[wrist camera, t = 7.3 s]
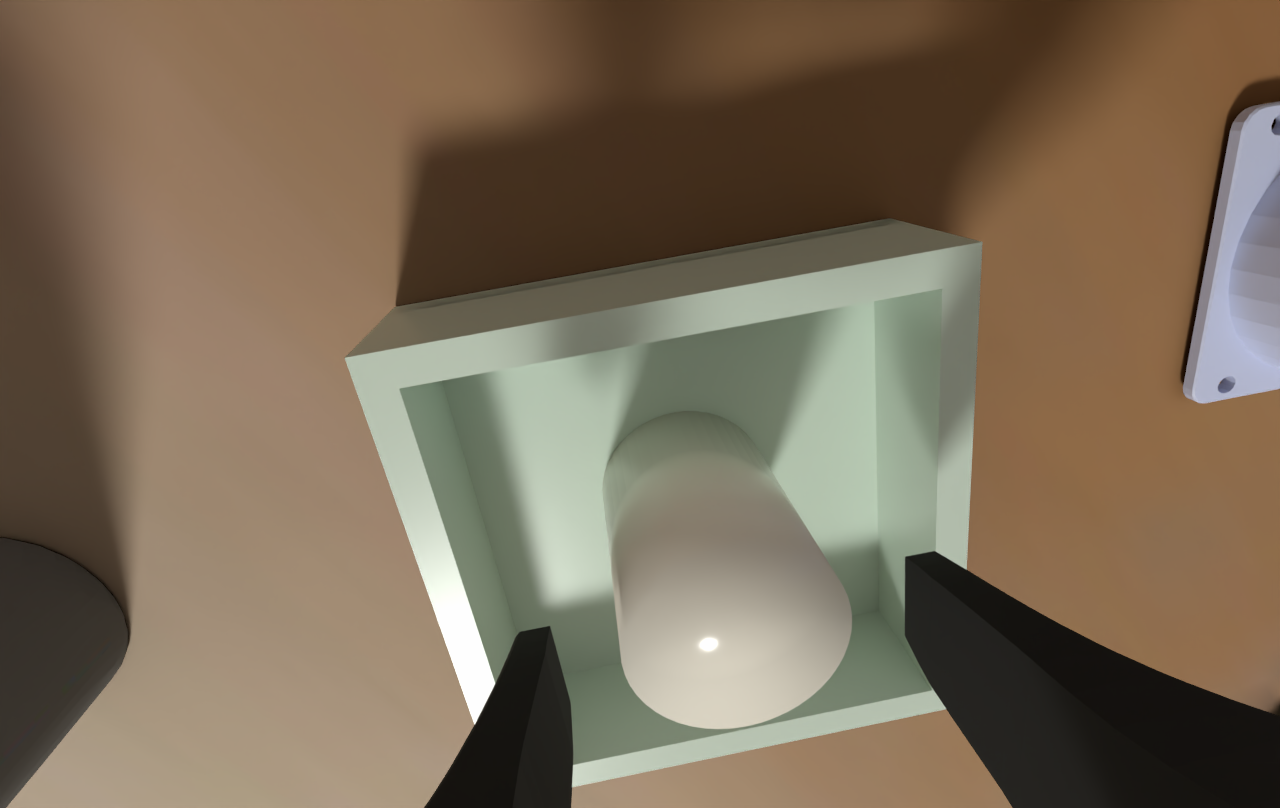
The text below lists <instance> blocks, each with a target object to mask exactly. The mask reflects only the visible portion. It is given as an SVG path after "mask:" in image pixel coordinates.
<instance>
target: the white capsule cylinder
mask: <svg viewBox="0 0 1280 808" xmlns="http://www.w3.org/2000/svg"><path fill="white" fill-rule="evenodd" d="M602 493H603V502H604V511H605V520H606V529H607V538H608V547H609V556H610V565H611V574H612V583H613V592H614V601H615V610H616V619H617V628H618V637H619V645H620V654H621V663H622V667H623V670H624V674H625V676H626V679H627V681H628V683H629V685H630V687H631V688H632V689H633V691H634V692H635V694H636V695H637V696H638V697H639V698H640V699H641V700H642V701H643V702H644V703H645V704H646V705H647V706H648V707H650V708H651V709H652V710H654V711H655V712H657V713H658V714H660V715H662V716H664V717H665V718H668V719H670V720H672V721H675V722H677V723H681V724H684V725H688V726H692V727H699V728H706V729H731V728H739V727H746V726H750V725H754V724H758V723H762V722H765V721H767V720H770V719H773V718H776V717H778V716H780V715H782V714H784V713H787V712H788V711H790V710H792V709H794V708H795V707H797V706H799V705H800V704H802V703H803V702H804V701H806V700H807V699H809V698H810V697H811V696H812V695H814V694H815V693H816V692H817V691H818V690H819V689H820V688H821V687H822V686H823V685H824V684H825V683H826V682H827V681H828V680H829V679H830V678H831V676H832V675H833V673H834V672H835V670H836V669H837V668H838V666H839V664H840V662H841V661H842V659H843V657H844V655H845V652H846V650H847V647H848V644H849V640H850V636H851V630H852V613H851V606H850V602H849V598H848V595H847V593H846V591H845V589H844V587H843V585H842V583H841V582H840V580H839V578H838V577H837V575H836V574H835V572H834V570H833V569H832V567H831V566H830V564H829V562H828V561H827V559H826V558H825V556H824V554H823V553H822V551H821V550H820V548H819V546H818V545H817V543H816V542H815V540H814V538H813V537H812V535H811V534H810V532H809V530H808V529H807V527H806V526H805V524H804V522H803V521H802V519H801V518H800V516H799V514H798V513H797V511H796V510H795V508H794V506H793V505H792V503H791V501H790V500H789V498H788V497H787V495H786V493H785V492H784V490H783V489H782V487H781V485H780V484H779V482H778V481H777V479H776V477H775V476H774V474H773V473H772V471H771V469H770V468H769V466H768V465H767V463H766V461H765V460H764V458H763V457H762V455H761V453H760V452H759V450H758V449H757V447H756V445H755V444H754V442H753V441H752V440H751V438H750V437H749V436H748V435H747V434H746V433H745V432H744V431H743V430H742V429H741V428H740V427H738V426H737V425H736V424H734V423H732V422H731V421H729V420H727V419H725V418H722V417H720V416H718V415H714V414H710V413H706V412H698V411H683V412H674V413H670V414H666V415H662V416H659V417H657V418H654V419H652V420H650V421H648V422H646V423H644V424H642V425H641V426H639V427H638V428H636V429H635V430H633V431H632V432H631V433H630V434H629V435H627V436H626V437H625V438H624V439H623V441H622V442H621V443H620V444H619V445H618V446H617V448H616V449H615V451H614V452H613V454H612V456H611V458H610V460H609V461H608V464H607V467H606V470H605V473H604V478H603V487H602Z"/></svg>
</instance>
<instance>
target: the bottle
mask: <svg viewBox="0 0 1280 808" xmlns="http://www.w3.org/2000/svg"><path fill="white" fill-rule="evenodd" d="M127 647H128V630H127V626H126V623H125V619H124V615H123V612H122V611H121V609H120V607H119V605H118V603H117V602H116V600H115V598H114V597H113V596H112V595H111V593H110V592H109V591H108V590H107V589H106V587H105V586H104V585H103V584H102V583H101V582H100V581H99V580H97V579H96V578H95V577H94V576H93V575H91V574H90V573H89V572H88V571H86V570H85V569H84V568H83V567H81V566H79V565H78V564H76V563H74V562H73V561H71V560H70V559H68V558H66V557H64V556H62V555H59V554H57V553H55V552H52V551H50V550H48V549H45V548H43V547H40V546H38V545H34V544H29V543H25V542H20V541H16V540H11V539H7V538H0V808H6V807H7V806H8V805H9V803H10V802H11V801H12V800H13V799H14V797H15V796H16V795H17V794H18V793H19V791H20V790H21V789H22V788H23V787H24V785H25V784H26V783H27V782H28V781H29V779H30V778H31V777H32V776H33V775H34V773H35V772H36V771H37V770H38V769H39V767H40V766H41V765H42V764H43V763H44V761H45V760H46V759H47V758H48V756H49V755H50V754H51V753H52V752H53V750H54V749H55V748H56V747H57V745H58V744H59V743H60V742H61V740H62V739H63V738H64V737H65V736H66V734H67V733H68V732H69V731H70V729H71V728H72V727H73V726H74V725H75V723H76V722H77V721H78V720H79V718H80V717H81V716H82V715H83V714H84V712H85V711H86V710H87V709H88V707H89V706H90V705H91V704H92V702H93V701H94V700H95V699H96V698H97V696H98V695H99V694H100V693H101V691H102V690H103V689H104V688H105V687H106V685H107V684H108V683H109V682H110V680H111V679H112V678H113V676H114V675H115V673H116V672H117V670H118V669H119V667H120V666H121V664H122V662H123V659H124V656H125V653H126V650H127Z"/></svg>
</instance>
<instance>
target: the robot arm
mask: <svg viewBox="0 0 1280 808" xmlns="http://www.w3.org/2000/svg"><path fill="white" fill-rule="evenodd" d="M1275 118H1276V123H1275V126H1274V128H1273V129H1272V127H1271V126H1272V123H1273V121H1274V119H1275ZM1221 380H1222V381H1221ZM1220 381H1221V383H1220ZM1219 383H1220V384H1219ZM1276 389H1280V101H1278V102H1272V103H1266V104H1261V105H1255V106H1251V107H1249V108H1246V109H1245V110H1243V111H1242V112H1241V113H1240V114H1239V115H1238V116H1237V117H1236V119H1235V120H1234V122H1233V124H1232V126H1231V129H1230V134H1229V139H1228V145H1227V150H1226V155H1225V161H1224V166H1223V172H1222V177H1221V183H1220V188H1219V194H1218V199H1217V205H1216V210H1215V216H1214V221H1213V226H1212V232H1211V237H1210V243H1209V248H1208V254H1207V259H1206V265H1205V270H1204V276H1203V281H1202V286H1201V292H1200V297H1199V303H1198V308H1197V314H1196V319H1195V325H1194V330H1193V336H1192V341H1191V346H1190V352H1189V357H1188V363H1187V368H1186V374H1185V379H1184V385H1183V393H1184V395H1185V396H1186V397H1187V398H1189V399H1191V400H1193V401H1196V402H1198V403H1209V402H1214V401H1219V400H1224V399H1229V398H1235V397H1240V396H1245V395H1250V394H1255V393H1260V392H1266V391H1271V390H1276ZM905 637H906V639H907V641H908V643H909V645H910V647H911V649H912V651H913V653H914V655H915V657H916V659H917V661H918V663H919V665H920V667H921V669H922V671H923V673H924V674H925V676H926V678H927V680H928V682H929V684H930V685H931V687H932V688H933V690H934V691H935V693H936V694H937V696H938V697H939V699H940V700H941V702H942V703H943V705H944V706H945V708H946V709H947V711H948V712H949V714H950V715H951V717H952V718H953V720H954V721H955V722H956V724H957V725H958V727H959V728H960V730H961V731H962V733H963V734H964V736H965V737H966V739H967V740H968V741H969V743H970V744H971V746H972V747H973V749H974V750H975V752H976V753H977V755H978V756H979V758H980V759H981V760H982V762H983V763H984V765H985V766H986V768H987V769H988V771H989V772H990V774H991V775H992V777H993V778H994V779H995V781H996V782H997V784H998V785H999V787H1000V788H1001V790H1002V791H1003V793H1004V795H1005V796H1006V798H1007V799H1008V801H1009V803H1010V804H1011V806H1012V807H1013V808H1280V716H1278V715H1275V714H1272V713H1269V712H1266V711H1263V710H1260V709H1257V708H1254V707H1251V706H1248V705H1246V704H1243V703H1240V702H1237V701H1234V700H1231V699H1228V698H1226V697H1223V696H1221V695H1218V694H1215V693H1213V692H1210V691H1207V690H1205V689H1202V688H1199V687H1197V686H1194V685H1191V684H1189V683H1186V682H1184V681H1181V680H1179V679H1176V678H1174V677H1171V676H1169V675H1166V674H1164V673H1162V672H1159V671H1157V670H1155V669H1152V668H1150V667H1148V666H1146V665H1143V664H1141V663H1139V662H1137V661H1134V660H1132V659H1130V658H1128V657H1125V656H1123V655H1121V654H1119V653H1116V652H1114V651H1112V650H1110V649H1108V648H1106V647H1104V646H1102V645H1100V644H1098V643H1096V642H1094V641H1092V640H1090V639H1088V638H1086V637H1084V636H1082V635H1080V634H1078V633H1076V632H1074V631H1072V630H1070V629H1068V628H1066V627H1065V626H1063V625H1061V624H1059V623H1057V622H1055V621H1053V620H1051V619H1050V618H1048V617H1046V616H1044V615H1042V614H1041V613H1039V612H1037V611H1035V610H1033V609H1032V608H1030V607H1028V606H1026V605H1025V604H1023V603H1021V602H1019V601H1018V600H1016V599H1014V598H1013V597H1011V596H1009V595H1007V594H1006V593H1004V592H1002V591H1001V590H999V589H997V588H996V587H994V586H992V585H991V584H989V583H987V582H986V581H984V580H982V579H981V578H979V577H977V576H976V575H974V574H973V573H971V572H969V571H968V570H966V569H964V568H963V567H961V566H959V565H958V564H956V563H954V562H953V561H951V560H949V559H948V558H946V557H944V556H943V555H941V554H939V553H937V552H936V551H932V552H927V553H921V554H916V555H911V556H906V557H905ZM573 755H574V754H573V733H572V716H571V702H570V698H569V694H568V690H567V687H566V683H565V679H564V676H563V672H562V668H561V665H560V661H559V657H558V653H557V650H556V646H555V642H554V639H553V635H552V631H551V627H550V626H547V627H542V628H536V629H531V630H526V631H521V632H519V633H518V635H517V636H516V637H515V639H514V642H513V644H512V647H511V649H510V652H509V654H508V656H507V659H506V661H505V663H504V666H503V668H502V670H501V672H500V674H499V677H498V679H497V681H496V683H495V685H494V687H493V689H492V691H491V693H490V695H489V697H488V699H487V701H486V703H485V705H484V707H483V709H482V711H481V713H480V715H479V717H478V719H477V721H476V723H475V725H474V727H473V729H472V731H471V732H470V734H469V736H468V738H467V739H466V741H465V743H464V745H463V746H462V748H461V750H460V752H459V753H458V755H457V757H456V758H455V760H454V762H453V764H452V765H451V767H450V769H449V770H448V772H447V774H446V775H445V777H444V778H443V780H442V782H441V783H440V785H439V786H438V788H437V789H436V791H435V793H434V794H433V796H432V797H431V799H430V800H429V802H428V803H427V804H426V806H425V807H424V808H571V797H572V777H573Z"/></svg>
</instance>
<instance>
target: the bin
mask: <svg viewBox="0 0 1280 808" xmlns="http://www.w3.org/2000/svg"><path fill="white" fill-rule="evenodd" d="M981 260H982V242H981V241H977V240H973V239H969V238H965V237H961V236H957V235H953V234H950V233H946V232H942V231H938V230H934V229H930V228H926V227H922V226H918V225H914V224H910V223H907V222H903V221H899V220H895V219H891V218H888V219H883V220H877V221H872V222H866V223H860V224H855V225H849V226H844V227H838V228H833V229H827V230H821V231H816V232H810V233H805V234H799V235H794V236H788V237H782V238H777V239H771V240H766V241H760V242H755V243H749V244H743V245H738V246H732V247H727V248H721V249H715V250H710V251H704V252H699V253H693V254H688V255H682V256H676V257H671V258H665V259H660V260H654V261H649V262H643V263H637V264H632V265H626V266H621V267H615V268H610V269H604V270H598V271H593V272H587V273H582V274H576V275H570V276H565V277H559V278H554V279H548V280H543V281H537V282H531V283H526V284H520V285H515V286H509V287H504V288H498V289H492V290H487V291H481V292H476V293H470V294H465V295H459V296H453V297H448V298H442V299H437V300H431V301H425V302H420V303H414V304H409V305H403V306H398V307H394V308H393V309H392V310H391V311H390V312H389V313H388V314H387V315H386V316H385V317H384V318H383V319H382V320H381V321H380V323H379V324H378V325H377V326H376V327H375V328H374V329H373V330H372V331H371V332H370V333H369V334H368V335H367V336H366V337H365V338H364V339H363V340H362V341H361V342H360V343H359V344H358V345H357V346H356V347H355V348H354V349H353V350H352V351H351V352H350V353H349V354H348V355H347V356H346V357H345V360H346V363H347V366H348V369H349V371H350V374H351V377H352V380H353V383H354V385H355V388H356V391H357V394H358V397H359V400H360V402H361V405H362V408H363V411H364V414H365V417H366V419H367V422H368V425H369V428H370V431H371V433H372V436H373V439H374V442H375V445H376V448H377V450H378V453H379V456H380V459H381V462H382V465H383V467H384V470H385V473H386V476H387V479H388V481H389V484H390V487H391V490H392V493H393V496H394V498H395V501H396V504H397V507H398V510H399V513H400V515H401V518H402V521H403V524H404V527H405V529H406V532H407V535H408V538H409V541H410V544H411V546H412V549H413V552H414V555H415V558H416V561H417V563H418V566H419V569H420V572H421V575H422V577H423V580H424V583H425V586H426V589H427V592H428V594H429V597H430V600H431V603H432V606H433V609H434V611H435V614H436V617H437V620H438V623H439V625H440V628H441V631H442V634H443V637H444V640H445V642H446V645H447V648H448V651H449V654H450V656H451V659H452V662H453V665H454V668H455V671H456V673H457V676H458V679H459V682H460V685H461V688H462V690H463V693H464V696H465V699H466V702H467V704H468V707H469V710H470V713H471V716H472V719H473V721H474V724H475V723H476V721H477V719H478V717H479V715H480V713H481V711H482V709H483V707H484V705H485V703H486V701H487V699H488V697H489V695H490V693H491V691H492V689H493V687H494V685H495V683H496V681H497V679H498V677H499V674H500V672H501V670H502V668H503V666H504V663H505V661H506V659H507V656H508V654H509V652H510V649H511V647H512V644H513V642H514V639H515V637H516V636H517V635H518V633H519V632H521V631H526V630H531V629H536V628H542V627H547V626H550V627H551V631H552V635H553V639H554V642H555V646H556V650H557V653H558V657H559V661H560V665H561V668H562V672H563V676H564V679H565V683H566V687H567V690H568V694H569V698H570V702H571V716H572V733H573V754H574V755H573V777H572V787H576V786H580V785H585V784H590V783H595V782H600V781H604V780H609V779H614V778H619V777H624V776H628V775H633V774H638V773H643V772H647V771H652V770H657V769H662V768H667V767H671V766H676V765H681V764H686V763H691V762H695V761H700V760H705V759H710V758H715V757H719V756H724V755H729V754H734V753H738V752H743V751H748V750H753V749H758V748H762V747H767V746H772V745H777V744H782V743H786V742H791V741H796V740H801V739H806V738H810V737H815V736H820V735H825V734H829V733H834V732H839V731H844V730H849V729H853V728H858V727H863V726H868V725H873V724H877V723H882V722H887V721H892V720H897V719H901V718H906V717H911V716H916V715H920V714H925V713H930V712H935V711H940V710H944V709H946V708H945V706H944V705H943V703H942V702H941V700H940V699H939V697H938V696H937V694H936V693H935V691H934V690H933V688H932V687H931V685H930V684H929V682H928V680H927V678H926V676H925V674H924V673H923V671H922V669H921V667H920V665H919V663H918V661H917V659H916V657H915V655H914V653H913V651H912V649H911V647H910V645H909V643H908V641H907V639H906V637H905V557H906V556H911V555H916V554H921V553H927V552H932V551H936V552H937V553H939V554H941V555H943V556H944V557H946V558H948V559H949V560H951V561H953V562H954V563H956V564H958V565H959V566H961V567H963V568H964V569H966V570H967V549H968V529H969V508H970V487H971V467H972V446H973V425H974V405H975V384H976V363H977V343H978V322H979V301H980V281H981ZM683 411H698V412H706V413H710V414H714V415H718V416H720V417H722V418H725V419H727V420H729V421H731V422H732V423H734V424H736V425H737V426H738V427H740V428H741V429H742V430H743V431H744V432H745V433H746V434H747V435H748V436H749V437H750V438H751V440H752V441H753V442H754V444H755V445H756V447H757V449H758V450H759V452H760V453H761V455H762V457H763V458H764V460H765V461H766V463H767V465H768V466H769V468H770V469H771V471H772V473H773V474H774V476H775V477H776V479H777V481H778V482H779V484H780V485H781V487H782V489H783V490H784V492H785V493H786V495H787V497H788V498H789V500H790V501H791V503H792V505H793V506H794V508H795V510H796V511H797V513H798V514H799V516H800V518H801V519H802V521H803V522H804V524H805V526H806V527H807V529H808V530H809V532H810V534H811V535H812V537H813V538H814V540H815V542H816V543H817V545H818V546H819V548H820V550H821V551H822V553H823V554H824V556H825V558H826V559H827V561H828V562H829V564H830V566H831V567H832V569H833V570H834V572H835V574H836V575H837V577H838V578H839V580H840V582H841V583H842V585H843V587H844V589H845V591H846V593H847V595H848V598H849V602H850V606H851V613H852V630H851V636H850V640H849V644H848V647H847V650H846V652H845V655H844V657H843V659H842V661H841V662H840V664H839V666H838V668H837V669H836V670H835V672H834V673H833V675H832V676H831V678H830V679H829V680H828V681H827V682H826V683H825V684H824V685H823V686H822V687H821V688H820V689H819V690H818V691H817V692H816V693H815V694H814V695H812V696H811V697H810V698H809V699H807V700H806V701H804V702H803V703H802V704H800V705H799V706H797V707H795V708H794V709H792V710H790V711H788V712H787V713H784V714H782V715H780V716H778V717H776V718H773V719H770V720H767V721H765V722H762V723H758V724H754V725H750V726H746V727H739V728H731V729H706V728H699V727H692V726H688V725H684V724H681V723H677V722H675V721H672V720H670V719H668V718H665V717H664V716H662V715H660V714H658V713H657V712H655V711H654V710H652V709H651V708H650V707H648V706H647V705H646V704H645V703H644V702H643V701H642V700H641V699H640V698H639V697H638V696H637V695H636V694H635V692H634V691H633V689H632V688H631V687H630V685H629V683H628V681H627V679H626V676H625V674H624V670H623V667H622V663H621V654H620V645H619V637H618V628H617V619H616V610H615V601H614V592H613V583H612V574H611V565H610V556H609V547H608V538H607V529H606V520H605V511H604V502H603V493H602V487H603V478H604V473H605V470H606V467H607V464H608V461H609V460H610V458H611V456H612V454H613V452H614V451H615V449H616V448H617V446H618V445H619V444H620V443H621V442H622V441H623V439H624V438H625V437H626V436H627V435H629V434H630V433H631V432H632V431H633V430H635V429H636V428H638V427H639V426H641V425H642V424H644V423H646V422H648V421H650V420H652V419H654V418H657V417H659V416H662V415H666V414H670V413H674V412H683Z"/></svg>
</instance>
